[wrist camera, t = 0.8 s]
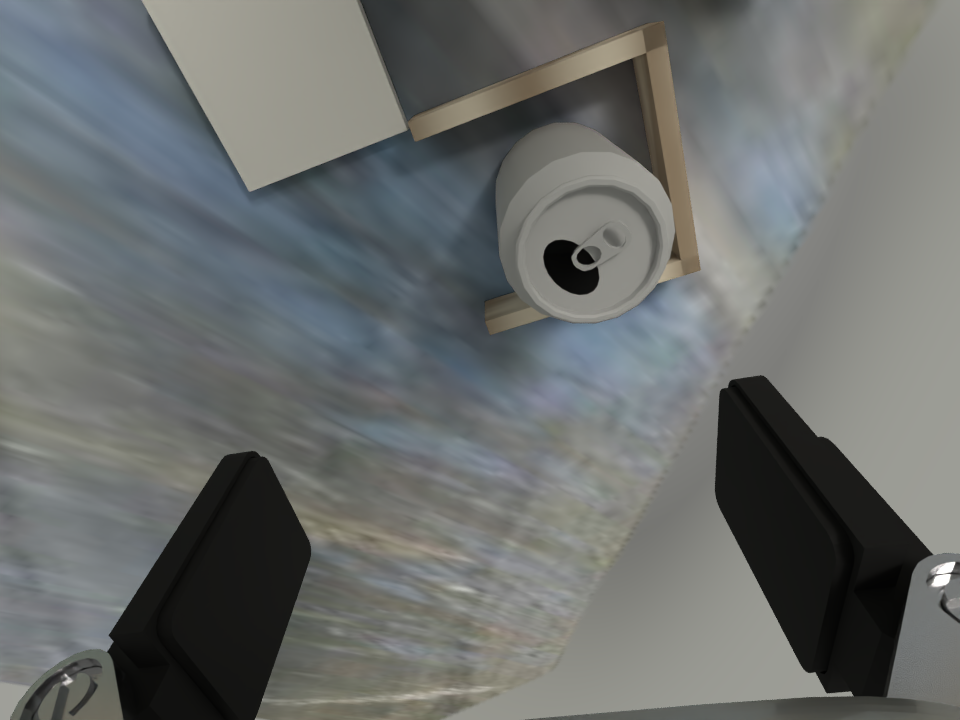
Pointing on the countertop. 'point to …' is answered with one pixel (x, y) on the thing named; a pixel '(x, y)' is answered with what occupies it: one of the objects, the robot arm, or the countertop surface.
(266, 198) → the countertop surface
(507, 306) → the open wooden frame
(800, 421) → the robot arm
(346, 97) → the tile
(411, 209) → the countertop surface
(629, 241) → the can
